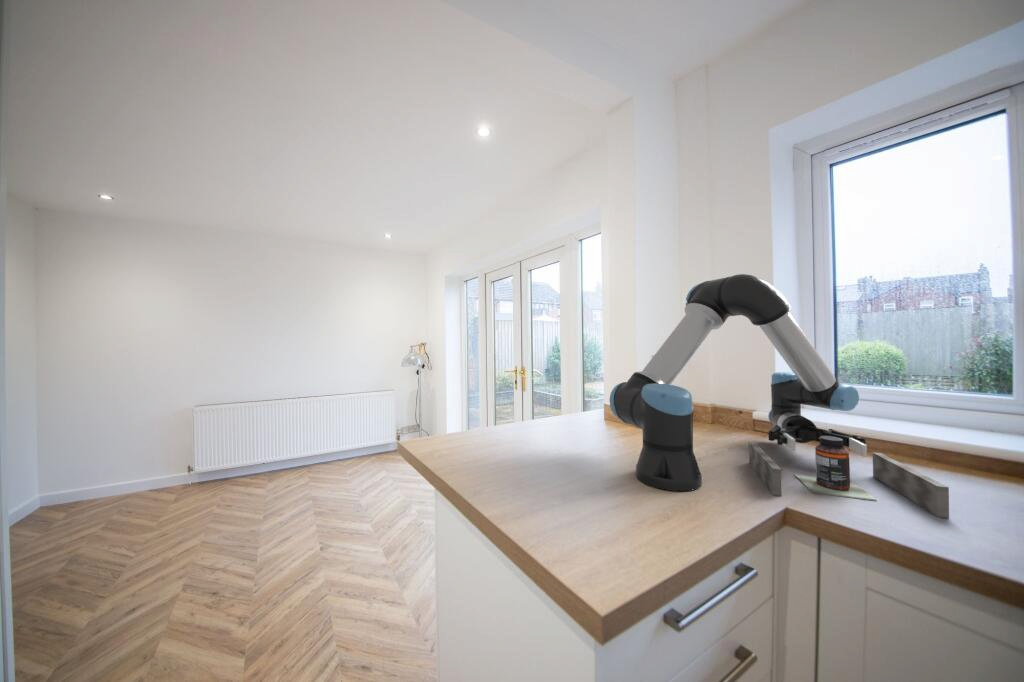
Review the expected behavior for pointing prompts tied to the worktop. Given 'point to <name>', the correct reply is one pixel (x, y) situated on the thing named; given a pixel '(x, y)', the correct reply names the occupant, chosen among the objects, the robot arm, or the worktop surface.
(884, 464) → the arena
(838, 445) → the supplement bottle
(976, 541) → the worktop surface
